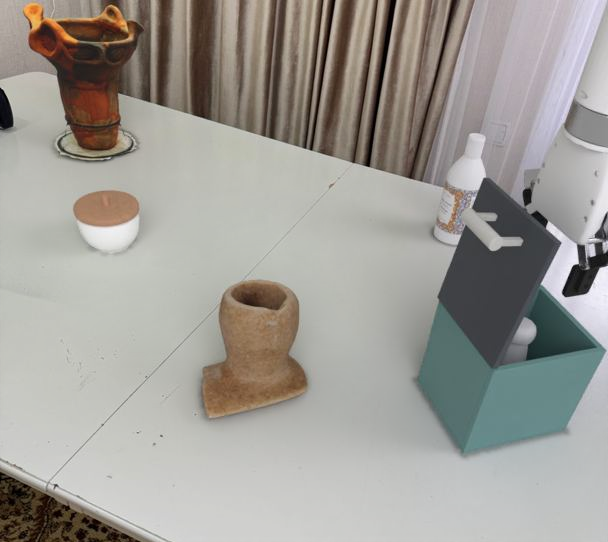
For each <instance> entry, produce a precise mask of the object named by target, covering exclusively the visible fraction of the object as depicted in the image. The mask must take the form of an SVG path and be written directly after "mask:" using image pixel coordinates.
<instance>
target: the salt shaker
mask: <svg viewBox="0 0 608 542" xmlns="http://www.w3.org/2000/svg"><path fill="white" fill-rule="evenodd" d="M535 336H536V326H535V324H534V323H533V322H532V321H531V320H530V319H528V318H526V317H524V318H523V320H522V322H521V324H520V326H519V328H518V330H517V332H516V334H515V336H514V338H513V340H512V342H511V344H510V346H509V348H508V350H507V352H506V353H505V355H504V357H503V359H502V361H501V363H500V365H499V366H502V365H507V364H512V363H518V362H523V361H526V357H527V349H528V344H530V343H531V342H532V341H533V340H534V339H535Z"/></svg>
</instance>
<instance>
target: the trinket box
mask: <svg viewBox="0 0 608 542" xmlns="http://www.w3.org/2000/svg"><path fill="white" fill-rule="evenodd" d="M72 211H73V215H74V218H75V221H76V225H77V228H78V231H79V233H80V235H81V237H82V238H83V239H84V241H85V242H86V243H87V244H88V245H89V246H91V247H92V248H94V249H95V250H98V251H99V252H102V253H108V254H111V253H118V252H119V253H120V252H122V251H124V250H126V249H127V248H128V247H129V246H131V244H133V243H134V241H135V240H136V238H137V237H138V234H139V230H140V223H141V221H140V220H141V218H140V217H141V216H140V202H139V200H138V199H137V198H136V197H135V196H133V195H132V194H131V193H128V192H125V191H121V190H111V189H110V190H108V189H107V190H106V189H105V190H98V191H93V192H90V193H87V194H84V195H82V196H81V197H79V198H78V199H77V200H76V201H75V202H74V204H73V206H72Z"/></svg>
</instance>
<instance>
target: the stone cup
mask: <svg viewBox="0 0 608 542" xmlns="http://www.w3.org/2000/svg"><path fill="white" fill-rule="evenodd" d="M299 301H300V300H299V299H298V297H297V295H296V294H295V292H294V290H292V289H290V288H289V287H288V286H286V285H284V284H282V283H280V282H276V281H271V280H266V279H249V280H243V281H240V282H237V283H234V284H233V285H232V284H231V285H230V286H229V287H227V288H226V289H225V291H224V292H223V294H222V296H221V300H220V302H219V303H220V304H219V309H218V324H219V328H220V334H221V337H222V340H223V345H224V349H225V352H226V354H225V355H226V359H225V360H224V361H220V362H218V363H215V364H211V365H210V364H209V365H207V366H206V365H205V366H204V367H202V369H201V372H202V376H203V380H202V384H201V391H202V400H203V406H204V412H205V413H206V418H207V419H216V418H221V417H227V416H230V415H236V414H240V413H244V412H248V411H253V410H255V409H260V408H264V407H267V406H271V405H274V404H278V403H282V402H284V401H287V400H290V399H291V400H292V399H294V398H297V397H299V396H301V395H302V394H304V393H306V391H307V390H308V386H309V383H308V378H307V376H306V375H307V374H306V373H305V370H304V368H303V367H302V366H301V364H300V363H299V362H298V361H297V360H296V359H294V358H293V356H291V355H289V354H290V351H291V350H292V347H293V345H294V343H295V341H296V338H297V335H298V332H299V324H300V302H299Z"/></svg>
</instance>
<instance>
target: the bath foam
mask: <svg viewBox="0 0 608 542" xmlns="http://www.w3.org/2000/svg"><path fill="white" fill-rule="evenodd" d="M486 140H487V138H486V136H485V135H484V134H482V133H477V132H472V133H469V135H468V136H467V140H466V145H465V149H464V153H463V155H462V156H460V157H459V158H457V160H456V161H455V162H454V163H453V164H452V165H451V167H450V168H449V171H448V172H447V175H446V178H445V182H444V185H443V191H442V195H441V199H440V203H439V208H438V211H437V215H436V219H435V224H434V228H433V235H434V237H435V238H436V239H437V240H438V241H440V242H442V243H444V244H447V245H453V246H457V245H458V242H459V240H460V237H461V235H462V232H463V229H464V227H465V223H464V222H463V221H462V220H461V213H462V212H463V211H464V210H465V209H467V208H472V206H473V204H474V201H475V198H476V196H477V193H478V191H479V188H480V186H481V183H482V180H483V178H487V175H486V169H485V166H484V162H483V160H482V158H481V157H482V153H483V150H484V146H485V143H486Z"/></svg>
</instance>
